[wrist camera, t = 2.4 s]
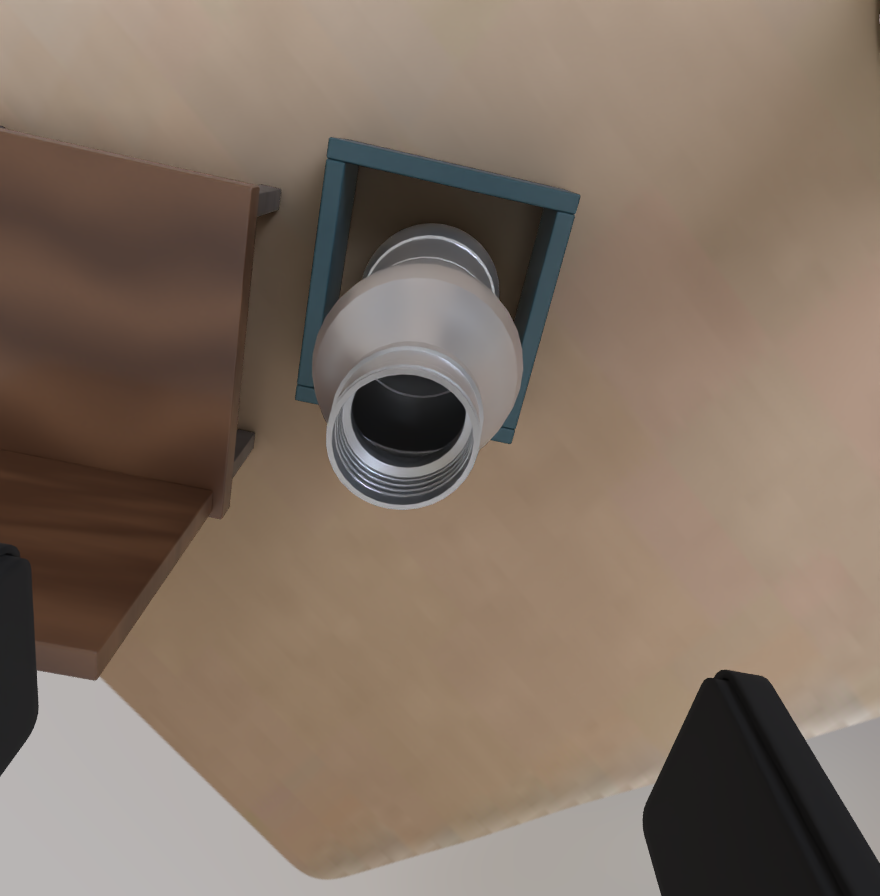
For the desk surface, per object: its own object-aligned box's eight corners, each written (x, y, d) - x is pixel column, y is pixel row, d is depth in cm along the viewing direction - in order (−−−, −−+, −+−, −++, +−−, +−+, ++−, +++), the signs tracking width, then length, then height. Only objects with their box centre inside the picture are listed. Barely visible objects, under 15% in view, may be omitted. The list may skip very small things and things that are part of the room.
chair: (-28, 107, 31) (-572, 59, 15) (293, 180, 32) (119, 211, 16) (-8, 404, 37) (-379, 606, 21) (261, 458, 38) (112, 691, 22)
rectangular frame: (345, 138, 31) (328, 136, 27) (565, 189, 32) (581, 195, 28) (313, 371, 36) (294, 400, 32) (505, 412, 37) (511, 444, 32)
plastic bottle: (339, 288, 34) (203, 448, 16) (432, 187, 32) (398, 234, 14) (431, 374, 36) (403, 607, 18) (524, 283, 34) (603, 438, 15)
